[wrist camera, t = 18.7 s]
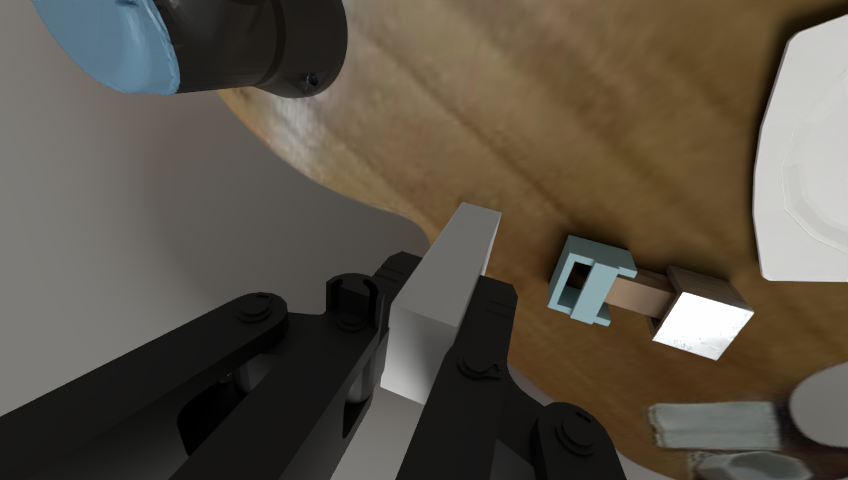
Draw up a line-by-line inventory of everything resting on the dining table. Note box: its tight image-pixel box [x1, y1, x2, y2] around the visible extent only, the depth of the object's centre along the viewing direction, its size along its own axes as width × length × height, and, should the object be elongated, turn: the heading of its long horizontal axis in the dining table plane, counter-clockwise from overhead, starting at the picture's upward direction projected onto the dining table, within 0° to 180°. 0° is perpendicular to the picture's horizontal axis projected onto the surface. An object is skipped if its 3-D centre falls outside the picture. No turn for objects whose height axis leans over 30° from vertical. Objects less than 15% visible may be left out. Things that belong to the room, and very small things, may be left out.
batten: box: [604, 268, 678, 320], centre depth 40 cm, size 12×4×4 cm, turn 81°
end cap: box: [644, 265, 754, 360], centre depth 38 cm, size 6×7×6 cm
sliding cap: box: [548, 235, 637, 326], centre depth 41 cm, size 7×8×5 cm
